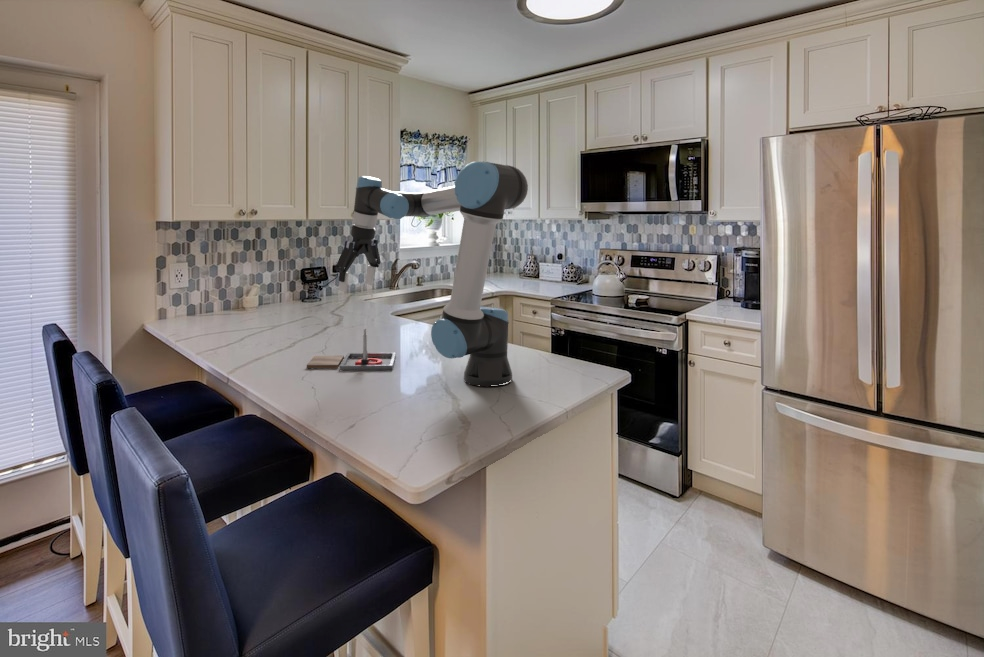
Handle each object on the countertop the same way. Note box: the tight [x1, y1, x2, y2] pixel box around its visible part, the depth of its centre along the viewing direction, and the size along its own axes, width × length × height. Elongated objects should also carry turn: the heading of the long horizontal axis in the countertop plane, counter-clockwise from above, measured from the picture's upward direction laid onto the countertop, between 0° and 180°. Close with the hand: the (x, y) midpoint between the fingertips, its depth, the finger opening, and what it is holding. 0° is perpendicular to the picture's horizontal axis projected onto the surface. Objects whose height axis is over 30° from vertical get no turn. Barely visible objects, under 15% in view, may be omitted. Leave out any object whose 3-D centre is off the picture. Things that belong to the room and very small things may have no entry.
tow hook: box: [354, 328, 383, 365], centre depth 178 cm, size 8×13×9 cm
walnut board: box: [306, 355, 345, 369], centre depth 177 cm, size 12×10×1 cm
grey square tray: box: [339, 352, 397, 371], centre depth 179 cm, size 17×17×2 cm
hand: (356, 287), depth 176 cm, fingers open, 13 cm apart
